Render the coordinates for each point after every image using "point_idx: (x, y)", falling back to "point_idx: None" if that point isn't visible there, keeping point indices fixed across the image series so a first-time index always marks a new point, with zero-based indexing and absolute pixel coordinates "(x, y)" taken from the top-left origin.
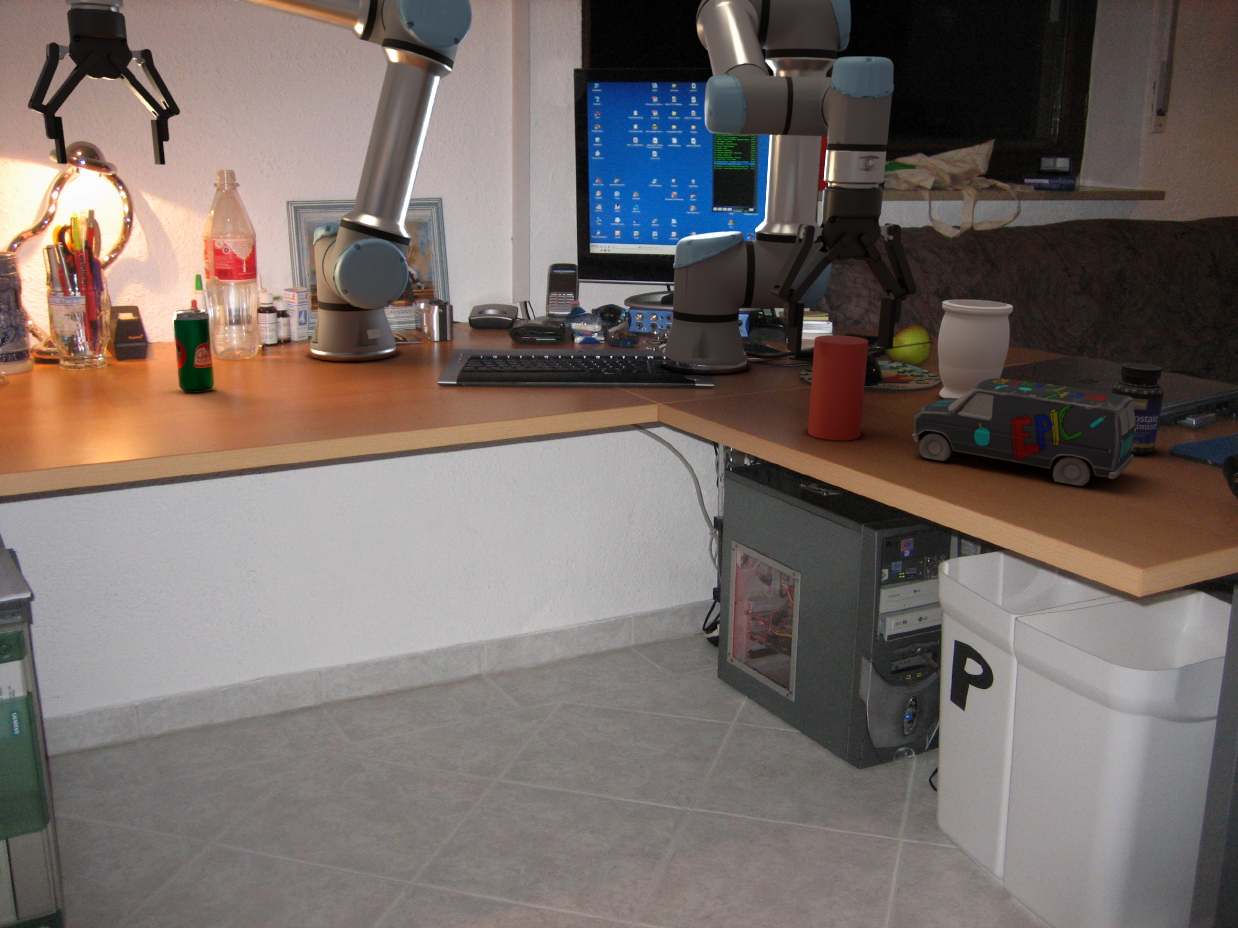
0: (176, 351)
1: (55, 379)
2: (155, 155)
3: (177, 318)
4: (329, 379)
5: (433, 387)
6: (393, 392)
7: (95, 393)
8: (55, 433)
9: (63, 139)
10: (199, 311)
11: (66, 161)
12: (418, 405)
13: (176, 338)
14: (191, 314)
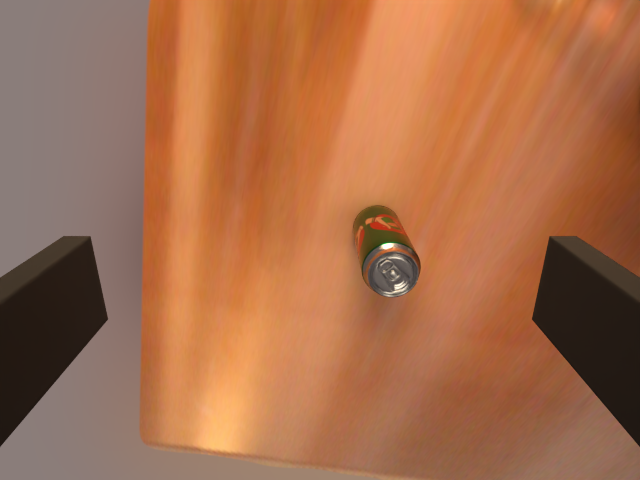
0: (357, 247)
1: (216, 17)
2: (569, 281)
3: (365, 279)
4: None
5: None
6: None
7: (253, 167)
8: (183, 343)
9: (35, 398)
10: (408, 276)
11: (99, 324)
12: (540, 417)
13: (359, 261)
14: (385, 296)
